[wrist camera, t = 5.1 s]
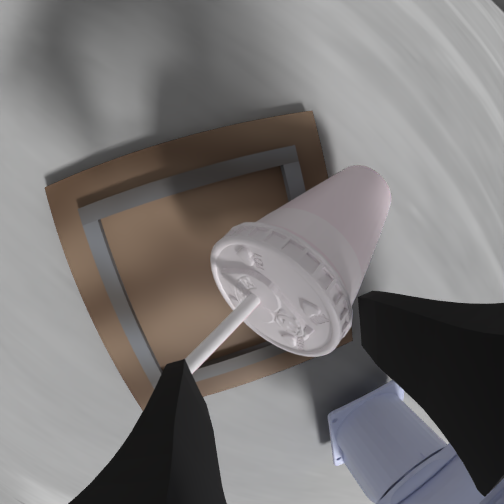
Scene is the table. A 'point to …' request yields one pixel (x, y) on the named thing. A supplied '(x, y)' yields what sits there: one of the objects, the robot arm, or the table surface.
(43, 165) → the table surface
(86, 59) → the table surface
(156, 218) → the holder
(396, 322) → the robot arm
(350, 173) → the smoothie
